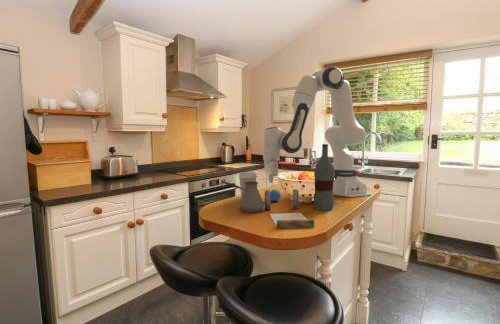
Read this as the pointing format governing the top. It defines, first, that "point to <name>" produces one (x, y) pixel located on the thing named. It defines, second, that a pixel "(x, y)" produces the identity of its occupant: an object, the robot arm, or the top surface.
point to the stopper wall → (295, 223)
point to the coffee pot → (249, 197)
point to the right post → (295, 199)
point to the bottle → (324, 182)
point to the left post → (267, 200)
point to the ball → (275, 195)
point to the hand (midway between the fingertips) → (270, 182)
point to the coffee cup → (246, 179)
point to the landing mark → (286, 217)
